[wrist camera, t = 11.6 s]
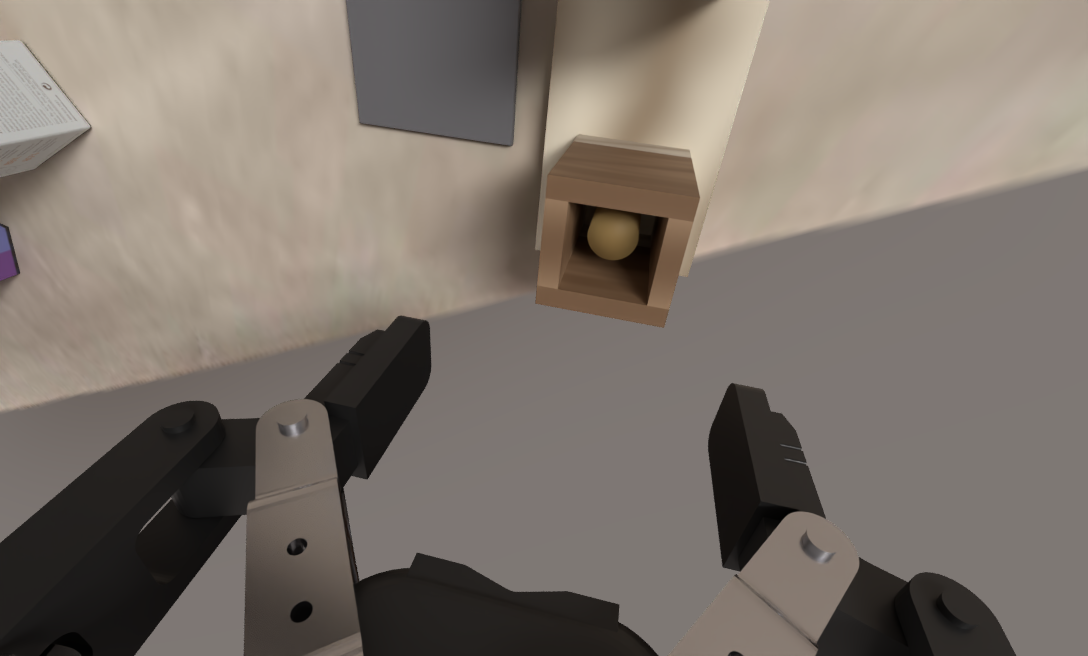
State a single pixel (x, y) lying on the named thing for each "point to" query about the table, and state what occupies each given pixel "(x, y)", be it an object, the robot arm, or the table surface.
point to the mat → (437, 65)
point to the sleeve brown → (629, 185)
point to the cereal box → (7, 254)
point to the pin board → (648, 93)
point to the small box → (31, 112)
